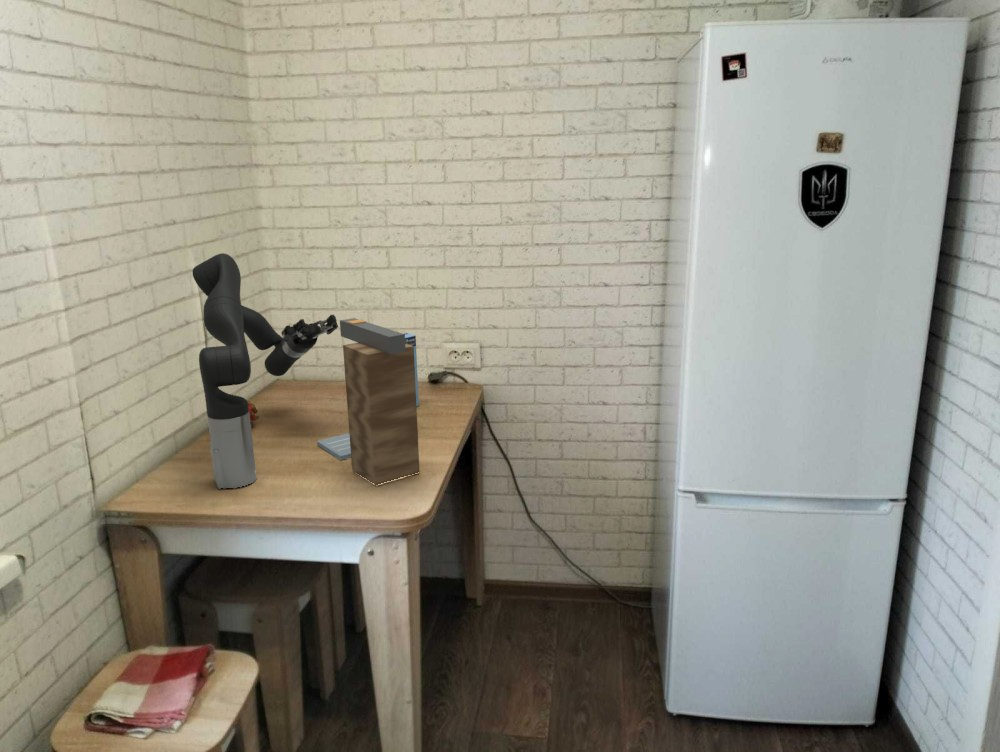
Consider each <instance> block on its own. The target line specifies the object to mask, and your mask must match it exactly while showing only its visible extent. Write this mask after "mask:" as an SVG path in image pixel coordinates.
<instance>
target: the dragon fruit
mask: <svg viewBox="0 0 1000 752" xmlns="http://www.w3.org/2000/svg"><path fill="white" fill-rule="evenodd" d="M247 402H248V406H249V415H250V424H251V428H252V427H253V425H254V424H253V423H254V422H257V420H259V419H260V416H257V414H258V413H259V412H258V411H259V410H258V409H257V408H256V406H255V404H254V403H251V401H249V400H247Z"/></svg>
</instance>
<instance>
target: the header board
mask: <svg viewBox="0 0 1000 752" xmlns="http://www.w3.org/2000/svg"><path fill="white" fill-rule="evenodd" d="M316 446H318V447H319V448H321V449H322V450H324V451H325V452H327V453H329V455H331V456H333V457H335V458H336V457H337V458H336V459H337V460H339V459H340V460H339V461H344V459H345V460H347V459H348V458H349V459H351V448H350V435H349V432H347V433H344V434H339V435H336V436H331V437H328V438H327V437H326V438H323V439H319V440H316Z"/></svg>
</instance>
